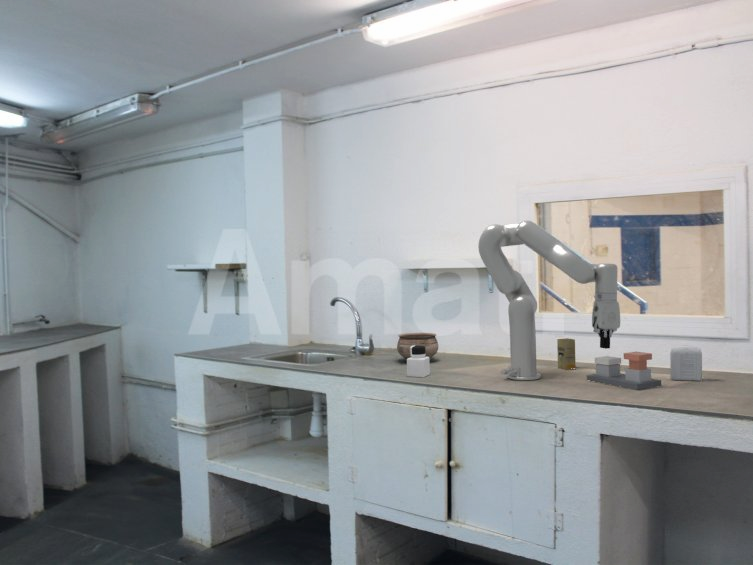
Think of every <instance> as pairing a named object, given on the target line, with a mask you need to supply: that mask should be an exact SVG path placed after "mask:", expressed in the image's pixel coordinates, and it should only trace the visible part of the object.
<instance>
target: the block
mask: <svg viewBox="0 0 753 565" xmlns="http://www.w3.org/2000/svg"><path fill="white" fill-rule="evenodd" d="M624 369H625V370H624V373H621V364H615V365H602V364H597V363H595V373H591V374H586V381H587V380H590V381H589V382H592V381H595V382H594V383H597V382H600V383H599V384H602V383H605V384H604V385H607V384H611V385H610V386H613V385H616V386H615V387H618V386H621V387H620V388H623V387H625V388H624V389H628V388H630V389H629V390H634V389H635V390H634V391H640V390H639V389H641V390H646V389H645V388H647V389H651V387H653V388H658V387H657V386H659V387H662V380H661V379H656V378H652V369H651V368H648V367H647V369H644V370H634V369H629V367H626V368H624Z"/></svg>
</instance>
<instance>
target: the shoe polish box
mask: <svg viewBox="0 0 753 565" xmlns="http://www.w3.org/2000/svg"><path fill="white" fill-rule="evenodd" d="M556 339H557V341H556V342H557V343H556V344H557V345H556V346H557V347H556V348H557V369H559V368H562V369H561V370H563V369H571V368H577V367H576V340H575V339H574V338H569V337H568V338H556ZM571 370H572V369H571Z"/></svg>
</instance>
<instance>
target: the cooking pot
mask: <svg viewBox="0 0 753 565" xmlns="http://www.w3.org/2000/svg"><path fill="white" fill-rule="evenodd" d="M436 336H437V334H436V333H433V332H408V333H400V334H398V341H397V344H396V350H397V352H398V354H399V355H400V356H401V357H403V358H404V359H406V360H407V359H408V358H410V357H411V356H410V347H411V346H414V345H423V346H425V351H426V356H425V357H429V360H431V358H432V357H434V356H435V355H436V354H437V353H438V350H439V343H438V339H437V337H436Z"/></svg>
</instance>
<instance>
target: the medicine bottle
mask: <svg viewBox="0 0 753 565" xmlns="http://www.w3.org/2000/svg"><path fill="white" fill-rule="evenodd" d="M410 356H411V357H410V358H408V359H406V376H407V377H410V378H411V377H412V378H426V377H427V376H429V375H430V374H431V372H430V370H431V368H430V367H431V366H430V363H431V362H430V359H429V357H425V356H426V351H425V346H423V345H414V346H411V347H410Z"/></svg>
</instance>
